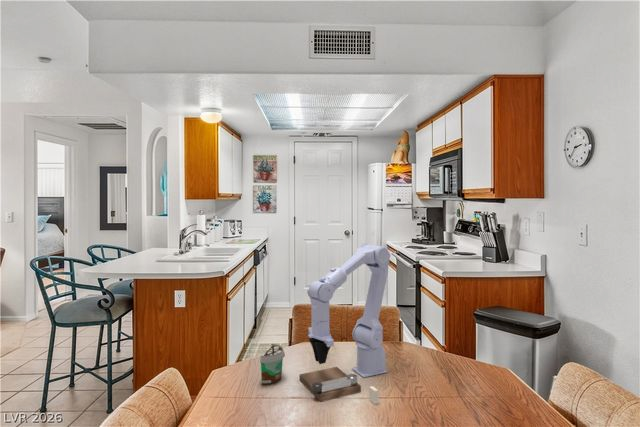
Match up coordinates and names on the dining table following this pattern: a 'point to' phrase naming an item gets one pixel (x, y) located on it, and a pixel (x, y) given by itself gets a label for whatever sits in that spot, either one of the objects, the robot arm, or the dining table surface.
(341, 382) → the folding leg
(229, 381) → the dining table surface
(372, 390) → the block
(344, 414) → the dining table surface
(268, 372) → the food container
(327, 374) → the stool seat
